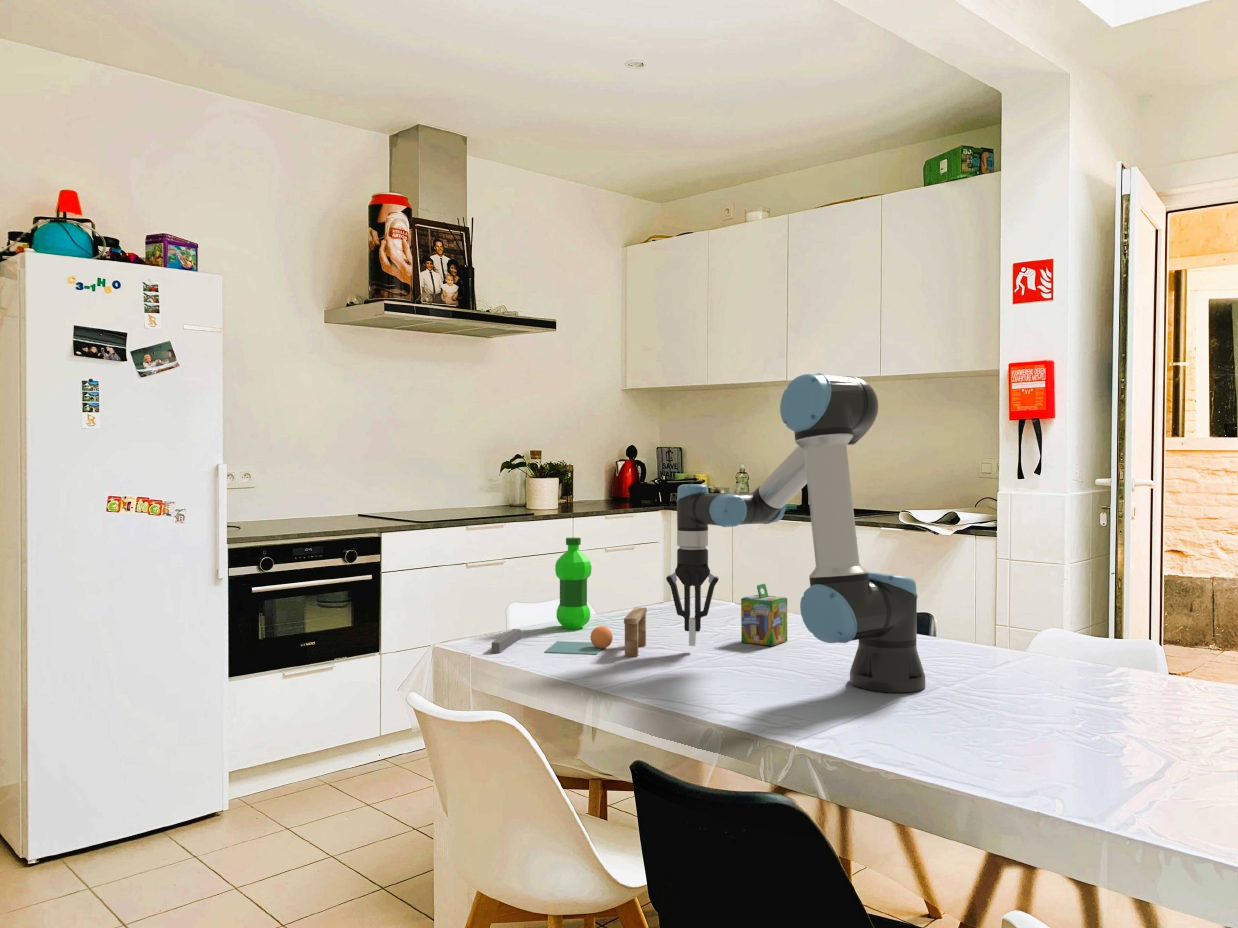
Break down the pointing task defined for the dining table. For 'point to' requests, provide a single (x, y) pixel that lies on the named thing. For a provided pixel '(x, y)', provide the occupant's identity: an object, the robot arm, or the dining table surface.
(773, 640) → the chalk box
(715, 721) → the dining table surface
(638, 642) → the bridge
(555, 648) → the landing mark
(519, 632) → the grey long bar
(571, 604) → the plastic bottle
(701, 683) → the dining table surface
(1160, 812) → the dining table surface
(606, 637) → the ball
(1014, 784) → the dining table surface
